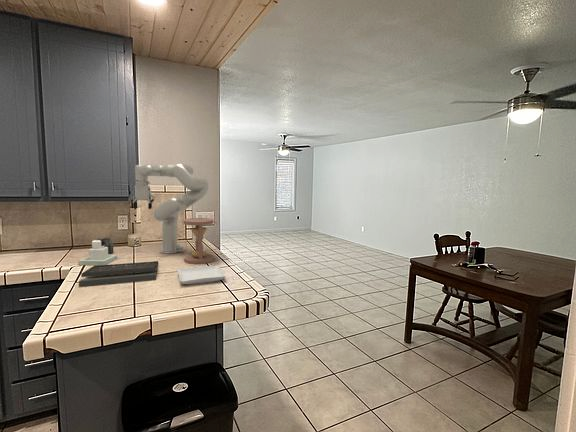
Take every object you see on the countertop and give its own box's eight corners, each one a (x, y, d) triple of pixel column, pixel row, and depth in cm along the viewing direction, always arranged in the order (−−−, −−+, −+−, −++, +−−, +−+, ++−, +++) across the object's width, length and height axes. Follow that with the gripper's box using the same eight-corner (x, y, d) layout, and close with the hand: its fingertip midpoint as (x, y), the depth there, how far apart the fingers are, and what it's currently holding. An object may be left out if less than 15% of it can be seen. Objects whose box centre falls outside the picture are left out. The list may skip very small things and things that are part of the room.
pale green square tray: (117, 259, 181) (117, 255, 181) (103, 265, 167) (103, 261, 167) (94, 258, 181) (94, 254, 181) (78, 265, 167) (78, 260, 167)
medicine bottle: (96, 258, 178) (95, 238, 176) (108, 258, 178) (107, 238, 177) (89, 261, 170) (87, 241, 169) (102, 261, 171) (101, 241, 170)
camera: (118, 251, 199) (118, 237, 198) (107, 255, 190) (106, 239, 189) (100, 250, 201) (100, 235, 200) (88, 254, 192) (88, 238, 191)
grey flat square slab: (176, 274, 156) (176, 268, 155) (217, 270, 164) (217, 264, 164) (179, 288, 137) (179, 280, 136) (226, 282, 145) (226, 276, 145)
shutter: (94, 278, 163) (79, 291, 134) (93, 265, 163) (77, 275, 134) (158, 270, 175) (156, 280, 146) (157, 258, 175) (155, 265, 146)
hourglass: (213, 263, 176) (213, 221, 173) (182, 264, 173) (181, 221, 170) (214, 256, 193) (214, 217, 191) (186, 257, 190) (185, 217, 187)
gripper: (157, 183, 206) (157, 208, 208) (131, 183, 206) (132, 207, 208) (152, 183, 198) (153, 209, 200) (126, 183, 198) (127, 208, 200)
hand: (142, 208), depth 204 cm, fingers open, 9 cm apart
